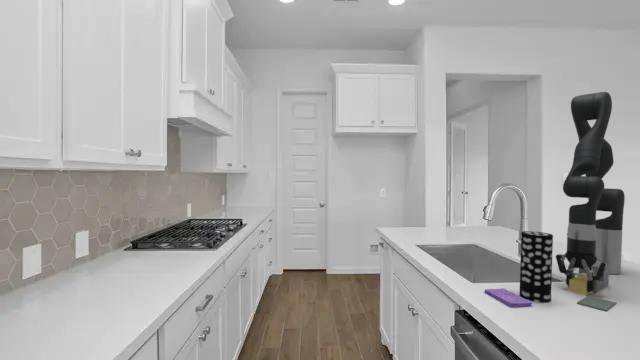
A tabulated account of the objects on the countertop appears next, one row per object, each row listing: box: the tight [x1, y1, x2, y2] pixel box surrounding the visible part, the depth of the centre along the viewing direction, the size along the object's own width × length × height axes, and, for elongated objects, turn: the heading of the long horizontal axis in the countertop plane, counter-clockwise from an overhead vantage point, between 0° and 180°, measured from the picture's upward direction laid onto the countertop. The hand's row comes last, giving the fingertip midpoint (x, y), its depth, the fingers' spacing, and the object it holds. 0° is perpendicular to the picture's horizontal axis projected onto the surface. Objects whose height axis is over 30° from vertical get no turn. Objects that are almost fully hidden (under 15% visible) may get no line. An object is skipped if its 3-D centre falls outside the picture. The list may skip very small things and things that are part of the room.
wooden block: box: [568, 276, 593, 297], centre depth 115 cm, size 10×4×4 cm, turn 125°
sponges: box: [484, 287, 533, 309], centre depth 106 cm, size 7×13×2 cm, turn 8°
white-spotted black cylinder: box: [518, 230, 554, 303], centre depth 107 cm, size 8×8×20 cm
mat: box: [576, 295, 617, 312], centre depth 103 cm, size 10×7×1 cm
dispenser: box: [572, 263, 610, 294], centre depth 119 cm, size 14×7×7 cm, turn 127°
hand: (579, 289), depth 113 cm, fingers closed on wooden block, 4 cm apart
